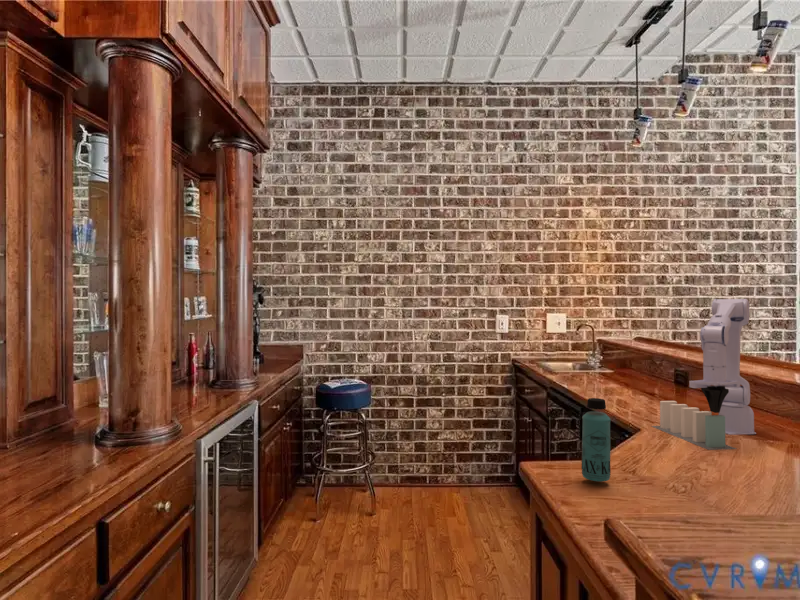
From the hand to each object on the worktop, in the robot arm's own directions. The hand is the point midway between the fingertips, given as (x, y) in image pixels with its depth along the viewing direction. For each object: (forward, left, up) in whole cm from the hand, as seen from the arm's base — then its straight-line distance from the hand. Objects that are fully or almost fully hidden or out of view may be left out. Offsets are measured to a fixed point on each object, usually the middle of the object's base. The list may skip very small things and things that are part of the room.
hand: (714, 412), depth 146 cm
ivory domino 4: (0, -6, -10) cm, 12 cm away
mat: (0, -11, -10) cm, 15 cm away
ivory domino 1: (0, -22, -10) cm, 24 cm away
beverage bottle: (+49, +25, -11) cm, 56 cm away
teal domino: (0, 0, -10) cm, 10 cm away
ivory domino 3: (0, -11, -10) cm, 15 cm away
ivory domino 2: (0, -16, -10) cm, 19 cm away
